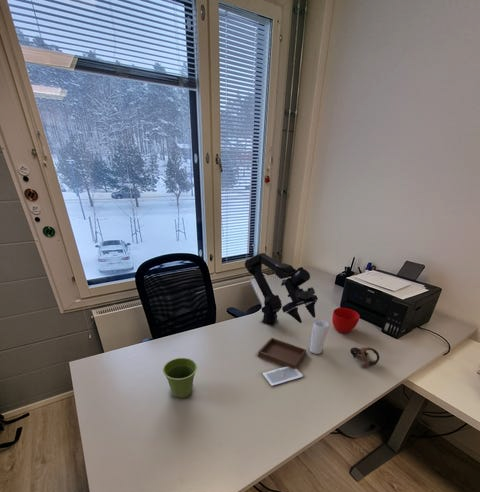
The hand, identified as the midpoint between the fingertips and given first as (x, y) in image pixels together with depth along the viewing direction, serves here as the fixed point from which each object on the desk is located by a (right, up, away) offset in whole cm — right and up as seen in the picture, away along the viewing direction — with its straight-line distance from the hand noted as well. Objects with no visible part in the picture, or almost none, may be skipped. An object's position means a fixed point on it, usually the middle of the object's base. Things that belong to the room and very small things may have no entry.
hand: (307, 320), depth 123 cm
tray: (-12, -16, -2) cm, 20 cm away
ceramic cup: (+23, -4, +21) cm, 31 cm away
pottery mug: (+23, -19, -4) cm, 30 cm away
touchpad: (-14, -23, -14) cm, 31 cm away
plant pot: (-53, -27, -24) cm, 64 cm away
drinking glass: (+4, -15, +2) cm, 15 cm away
